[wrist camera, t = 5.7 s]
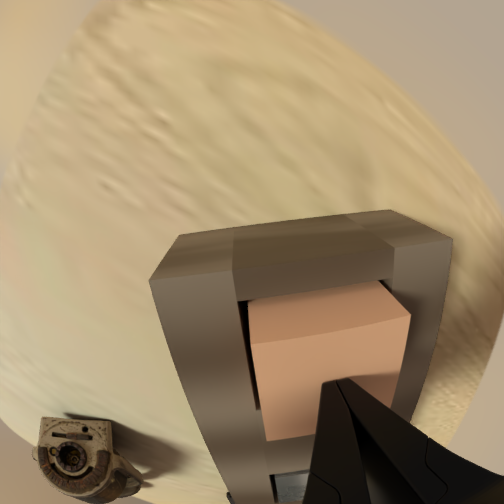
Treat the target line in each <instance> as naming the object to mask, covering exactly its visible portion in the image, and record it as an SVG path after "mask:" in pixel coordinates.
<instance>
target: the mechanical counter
mask: <svg viewBox="0 0 504 504" xmlns="http://www.w3.org/2000/svg"><path fill="white" fill-rule="evenodd" d="M32 457H33V459H34V460H36V461H37V463H38V466H39V469H40V471H41V473H42V475H43V477H44V478H45V479H46V481H47V482H48V483H49V484H50V485H51V486H52V487H53V488H55V489H56V490H58V491H59V492H61V493H63V494H65V495H68V496H71V497H74V498H76V499H79V500H82V501H85V502H88V503H91V504H104V503H109V502H111V501H114V500H115V499H116V498H123V497H128V496H131V495H134V494H136V493H137V492H138V491H139V490H140V487H141V486H140V485H141V484H142V483H143V478H142V475H141V473H140V472H139V471H138V470H137V469H135V468H134V467H133V466H132V465H131V464H130V463H129V462H128V461H127V460H126V459H125V458H124V457H122V456H120V454H119V453H118V452H117V451H116V450H115V449H114V448H113V447H112V427H111V422H110V421H98V420H75V419H63V418H53V417H42V418H41V425H40V432H39V441H38V445H37V446H36V447H33V450H32ZM127 474H128V475H129V476H131V478H127V477H128V475H127Z"/></svg>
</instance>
